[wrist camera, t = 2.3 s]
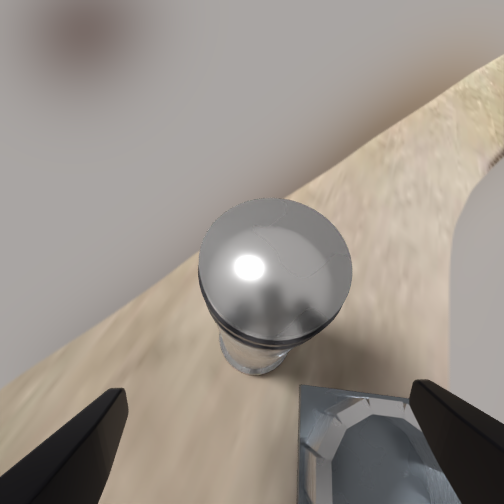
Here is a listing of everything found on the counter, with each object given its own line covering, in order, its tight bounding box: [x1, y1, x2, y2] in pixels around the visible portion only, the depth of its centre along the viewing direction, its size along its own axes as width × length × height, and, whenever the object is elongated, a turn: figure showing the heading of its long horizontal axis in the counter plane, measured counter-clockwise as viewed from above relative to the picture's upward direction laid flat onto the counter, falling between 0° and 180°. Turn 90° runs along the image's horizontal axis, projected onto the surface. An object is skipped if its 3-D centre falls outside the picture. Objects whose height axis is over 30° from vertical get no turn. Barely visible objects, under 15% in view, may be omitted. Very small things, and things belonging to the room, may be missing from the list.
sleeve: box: [297, 385, 461, 504], centre depth 14 cm, size 9×9×3 cm
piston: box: [198, 198, 352, 375], centre depth 13 cm, size 5×5×13 cm
